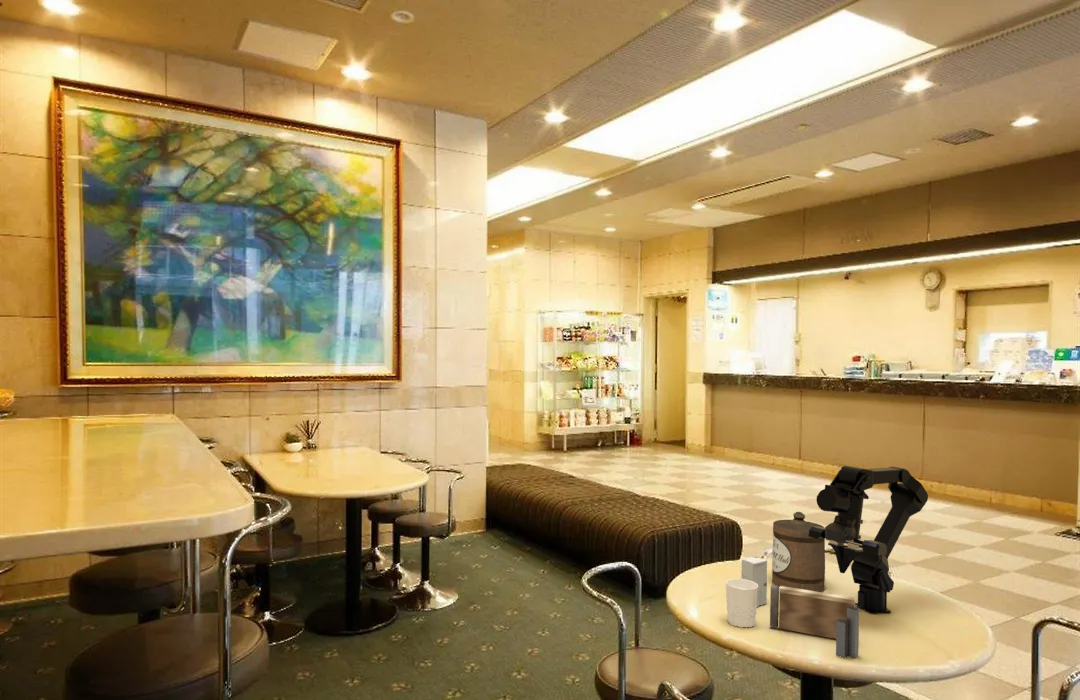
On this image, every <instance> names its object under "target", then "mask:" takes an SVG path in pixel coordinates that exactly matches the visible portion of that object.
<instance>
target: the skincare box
mask: <svg viewBox="0 0 1080 700" xmlns="http://www.w3.org/2000/svg"><path fill="white" fill-rule="evenodd" d="M740 579H746V580H750V581H753V582H755V583H756V584H758V596H757V607H760V606H759V605H761V606H764V605H763V604H765V605H767V601H768V598H767V597H768V596H767V595H768V593H767V592H768V591H767V589H768V588H767V587H768V586H767V585H768V560H766V559H764V558H762V557H757V556H753V557H747V558H742V559H741V578H740Z"/></svg>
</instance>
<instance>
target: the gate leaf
mask: <svg viewBox="0 0 1080 700" xmlns="http://www.w3.org/2000/svg"><path fill="white" fill-rule="evenodd" d="M855 599H856V597H853V596H846V595H840V594H834V593H828V592H823V591H822V592H816V591H810V590H803V589H797V588H791V587H784V586H780V588H779V586H777V585H774V584H771V585H770V601H769V602H770V605H769V606H770V607H769V626H770V627H771V628H774V629H775V628H778V629H782V630H788V631H793V632H797V633H798V632H799V633H802V634H808V635H809V634H810V635H813V636H814V635H815V636H819V637H825V638H832V639H836V625H837V620H838V619H842V620H845V621H847V607H849V606H853V607H856V605H855V603H856V600H855Z"/></svg>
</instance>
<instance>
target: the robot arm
mask: <svg viewBox="0 0 1080 700" xmlns="http://www.w3.org/2000/svg"><path fill="white" fill-rule="evenodd" d="M883 484H888V485H887V488H888V490H889V491H890V493H891V494H890V497H889V498H890V504H891V508H890V509H889V512H888V514H887V515H886V517H885V518H884V520H883V522H882V524H881V527H880V528H879V530H878V532H877V534H876V535H875V537H874V539H873V540H872V539H863V540H861V539H862V535H860V533H861V531H860V530H861V525H863V523H864V520H863V519H862V515H863V507H864V500H869V498H870V497H869V495H868V494H867V493H866V492H865V491H867V490H869V489H872V488H873V487H874V486H875V485H883ZM928 498H929V494H928V492H927V490H926V489H925V486H924V485H923V484H922V483H921V482H920V481H919V480H918V479H916V478H915V477H914V476H912V474H911V473H910V471H909V470H908V469H906V468H904V467H898V466H888V467H880V468H861V467H858V466H857V467H856V466H852V465H843V466H841V467H840V470H839V471H838V472H837V473H836V475H835V477H834V478H833V479H832V481H831V482H830V484H825V485H824V488H823V489H822V490H820V491H819V492H818V494H817V495H816V504H817V506H818V508H819V509H820V510H822V511H824V512H831V513H837V514H836V515H835V517H834V519H833V522H830V523H829V524H828V525H826V526H825V527H824V528H822V527H813V526H812V527H810V528H809V530H808V536H809V537H813V538H816V539H819V538H821V537H822V538H825V541H828V543H827V545H828V546H830V547H831V548H832V549H833V551H834V553H835V558H836V561H837V567H838V570H839V573H840V574H845V573H846V572H847V570H848V569H849V566H850V570H851V574H852V575H851V576H852V579H853V583H854V584H858V588H859V590H858V591H857V602H855V607H857V608H859V609H861V610H863V611H865V612H866V613H868V614H889V613H891V612H892V611H891V609H888V608H887V606H888V605H887V604H888V601H887V599H888V593H891V591H893V589H894V584H895V582H894V580H893V579H892V578H891V576H890V574H889V571H890V567H889V566H890V565H889V561H888V559H889V557H890V555H891V553H892V551H893V549H894V547H895V545H896V544H897V542H898V540H899V537H900V536H901V534H902V532H903V531H904V528H905V527H906V525H907V523H908V521H909V519H910V518H911V517H912V516H914V515H916V514H917V513H919V512H921V511H922V510H923V508H924V507H925V505H926V504H927V502H928V500H929V499H928Z"/></svg>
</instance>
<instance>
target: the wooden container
mask: <svg viewBox="0 0 1080 700" xmlns="http://www.w3.org/2000/svg"><path fill="white" fill-rule="evenodd" d="M792 515H793V516H792V517H793V519H777V520H774V521H773V524H772V534H773V535H772V556H771V557H772V558H771V569H772V570H771V578H772V580H771V582H773V583H774V584H775V585H777V586H779V587H780V586H784V587H791V588H797V589H803V590H810V591H816V592H822V593H823V592H824V591H825V588H826V586H825V584H826V578H825V577H826V547H825V546H826V545H825V544H826V538H822V537H821V538H819V539H816V538H813V537H809V536H808V530H809V528H810V527H812V526H813V527H822V528H825V527H824V526H823V525H821V524H819V523H815V522H812V521H806V520H805V518H806V515H805V514H804V513H803V512H801V511H796V512H794V513H793V514H792ZM773 583H772V584H773ZM774 584H773V585H774Z"/></svg>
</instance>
